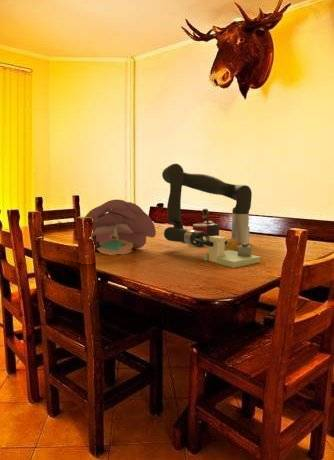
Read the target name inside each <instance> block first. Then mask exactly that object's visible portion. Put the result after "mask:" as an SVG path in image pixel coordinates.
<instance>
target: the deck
mask: <svg viewBox="0 0 334 460" xmlns="http://www.w3.org/2000/svg"><path fill="white" fill-rule="evenodd" d="M247 245H248V244H245V243H243V244H242V245H240V246H238V252H236V251H232V250H227V251H224V256H223V257H218V258H217V263H216V264H219V265H222V266H226V267H229V268H232V269H234V268H238V267H243V266H248V265H253V264H258V263H261V262H260V261H261V256H259V255H258V256H257V255H253V254H252V246H250V245H248V246H247ZM203 260H204V261H209V253H204V254H203Z"/></svg>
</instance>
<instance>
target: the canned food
mask: <svg viewBox="0 0 334 460" xmlns="http://www.w3.org/2000/svg"><path fill="white" fill-rule="evenodd" d="M192 230H196V231H202V232H205V233H206V235H207V225H206V224H200V223H193V224H192Z"/></svg>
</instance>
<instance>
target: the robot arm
mask: <svg viewBox="0 0 334 460" xmlns="http://www.w3.org/2000/svg"><path fill="white" fill-rule="evenodd" d="M161 176H162V179H163V180H164V182H166V183H167V184H169V187H170V188H169V195H168V198H167V199H168V201H167V206H166V217H167V222H169V223H171V224H172V226H168V227H166V228H165V230H164V231H163V235H164V238H165V239H166V240H167V241H168V242H169V241H170V242H176V243H181V244H186V245H189V246H193V247H197V248H203V247H209V246H210V247H213V242H212V241H209V240H210V236H207V235H206V233H205V232H202V231H196V230H193V229H187V228H186V229H184V226H183V222H182V221H183V220H182V216H181V215H182V214H181V213H182V212H181V211H182V210H181V209H182V208H181V204H182V201H181V200H182V191H183V190H182V187H188V188H190V189H193V190H197V191H200V192H204V193H207V194H211V195H216V196H217V195H218V196H224V197H226V198H229V199H231V200H234V201H236V204H235V207H233V208H232V214H231V215H232V216H231V217H232V218H231V238H232V239H235V240H236V241H239V242H240V243H245V244H247V245H249V244H250V226H249V223H250V222H249V219H250V217H249V216H250V210H251V207H252V197H253V196H252V194H253V193H252V189H251V187H250V186H249V185H246V184H233V183H228V182H224V181H223V180H221V179H220V178H218V177H215V176H212V175H209V174H203V173H191V172H190V173H188V172H185V171H184V168H183V167H182V166H181V165H180V164H179V163H172V164H170V165H168V166H167V167H165V169H163V170H162V173H161ZM225 245H227V240H226V241H225Z"/></svg>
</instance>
